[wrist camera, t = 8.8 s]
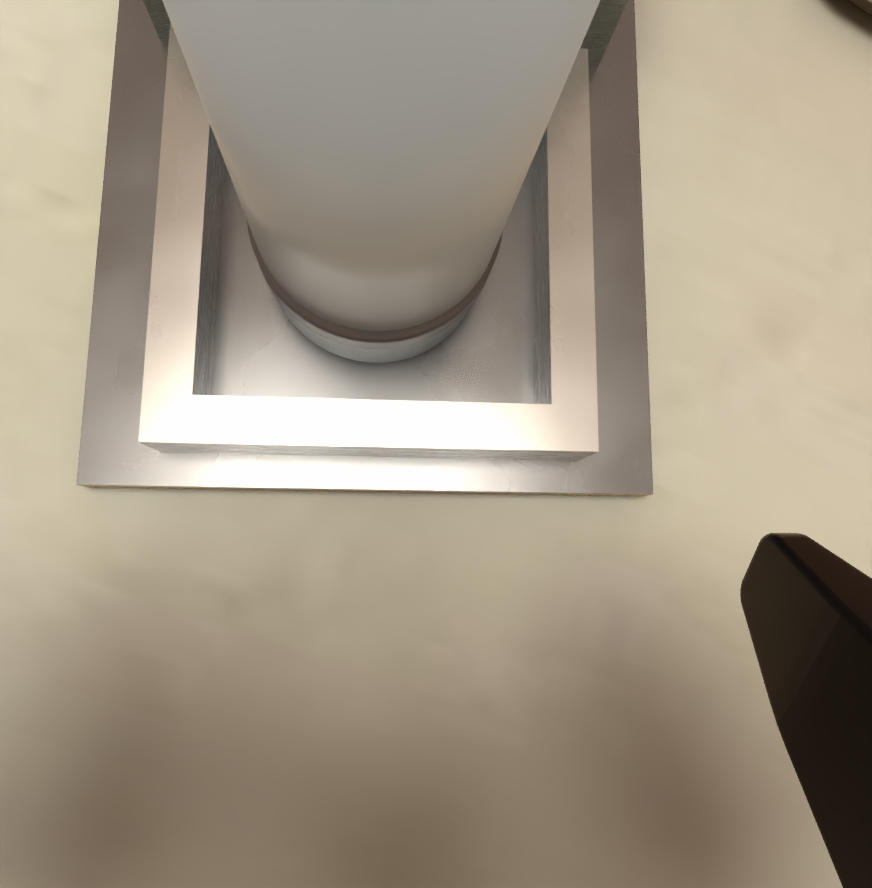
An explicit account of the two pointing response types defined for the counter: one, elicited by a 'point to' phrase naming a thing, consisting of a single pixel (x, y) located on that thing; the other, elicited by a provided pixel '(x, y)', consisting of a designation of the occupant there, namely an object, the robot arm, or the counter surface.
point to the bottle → (378, 148)
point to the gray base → (355, 382)
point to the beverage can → (863, 5)
